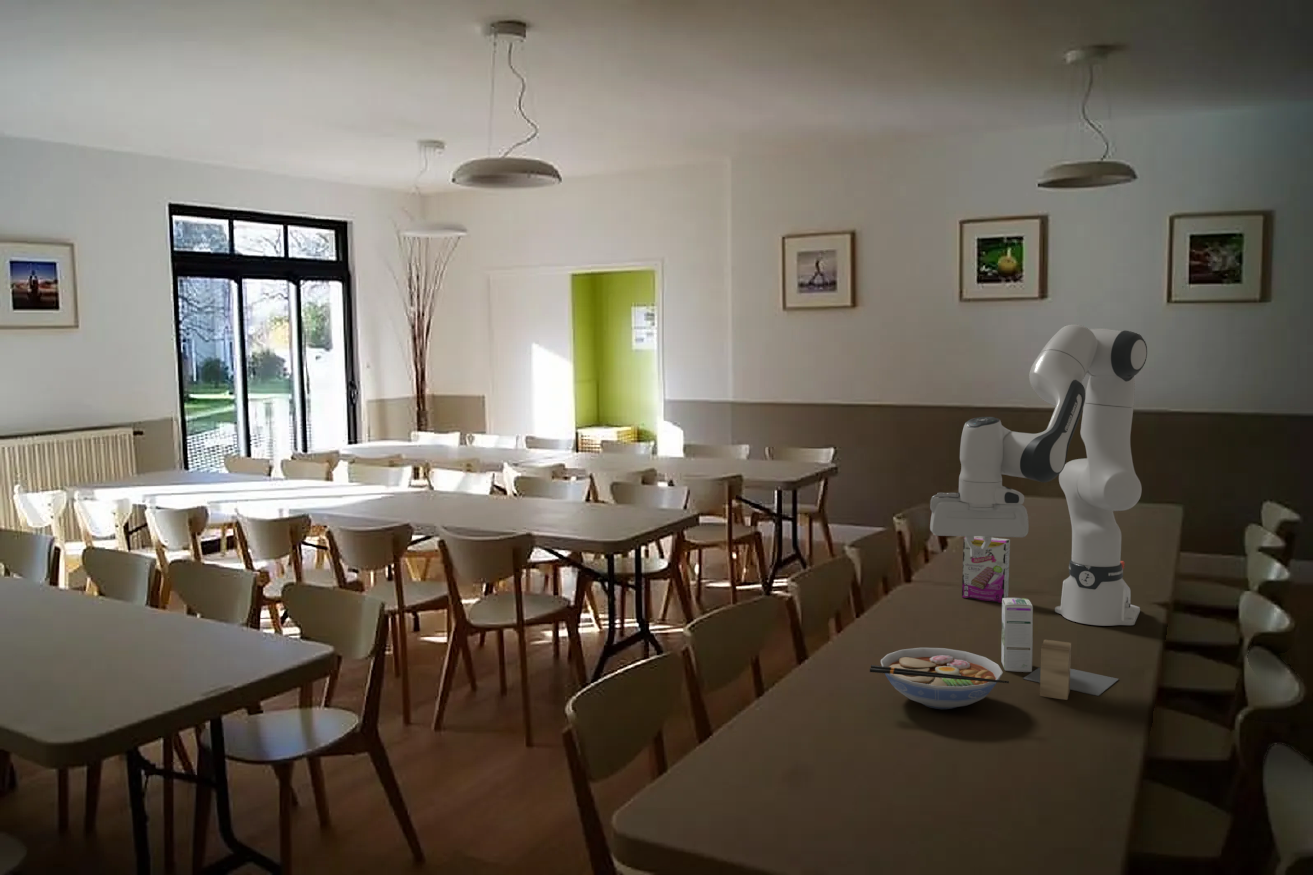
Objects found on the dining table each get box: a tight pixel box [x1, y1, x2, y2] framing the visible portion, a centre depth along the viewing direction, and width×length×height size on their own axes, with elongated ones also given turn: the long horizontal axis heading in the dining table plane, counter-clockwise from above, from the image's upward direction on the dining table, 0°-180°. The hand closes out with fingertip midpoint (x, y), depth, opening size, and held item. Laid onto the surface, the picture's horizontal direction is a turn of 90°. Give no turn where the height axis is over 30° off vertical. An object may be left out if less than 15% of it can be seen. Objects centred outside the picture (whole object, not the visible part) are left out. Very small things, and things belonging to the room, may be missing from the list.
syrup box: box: [1000, 597, 1034, 673], centre depth 216 cm, size 6×6×14 cm
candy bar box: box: [961, 536, 1011, 604], centre depth 269 cm, size 11×5×16 cm, turn 58°
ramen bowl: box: [869, 647, 1010, 710], centre depth 197 cm, size 25×23×8 cm
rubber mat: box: [1022, 666, 1120, 697], centre depth 209 cm, size 12×15×1 cm
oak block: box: [1039, 638, 1072, 701], centre depth 200 cm, size 5×5×10 cm
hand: (977, 556), depth 220 cm, fingers closed
